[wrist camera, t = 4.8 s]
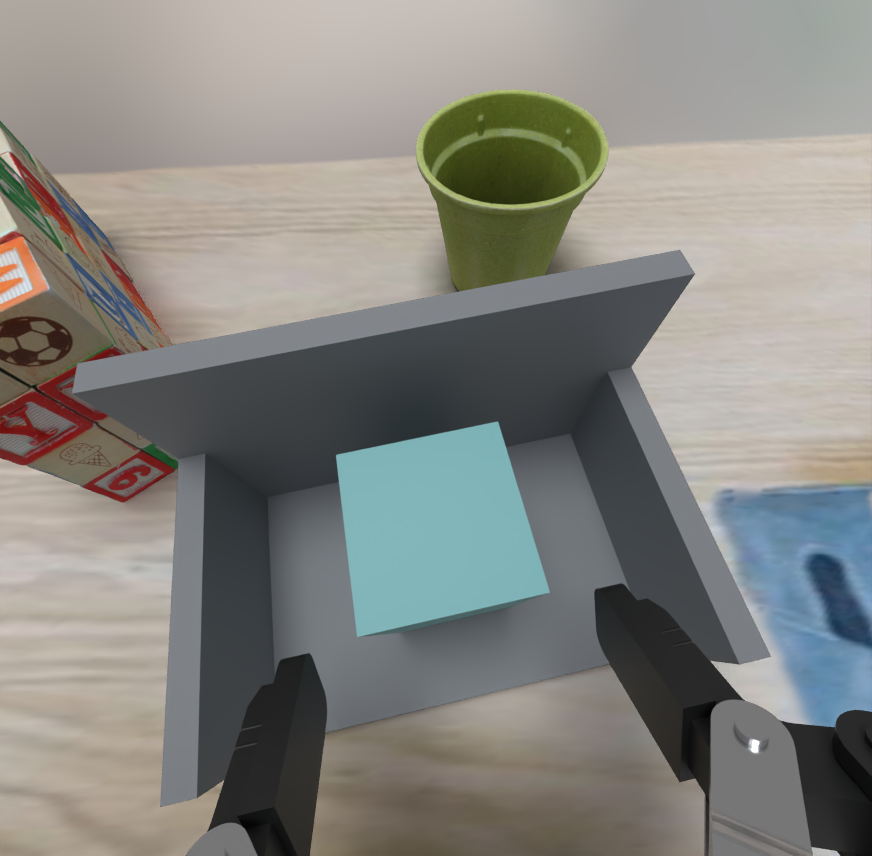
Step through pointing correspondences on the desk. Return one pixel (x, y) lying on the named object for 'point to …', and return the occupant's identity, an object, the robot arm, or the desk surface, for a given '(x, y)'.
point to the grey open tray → (394, 422)
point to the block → (435, 531)
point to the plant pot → (508, 180)
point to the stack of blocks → (65, 335)
